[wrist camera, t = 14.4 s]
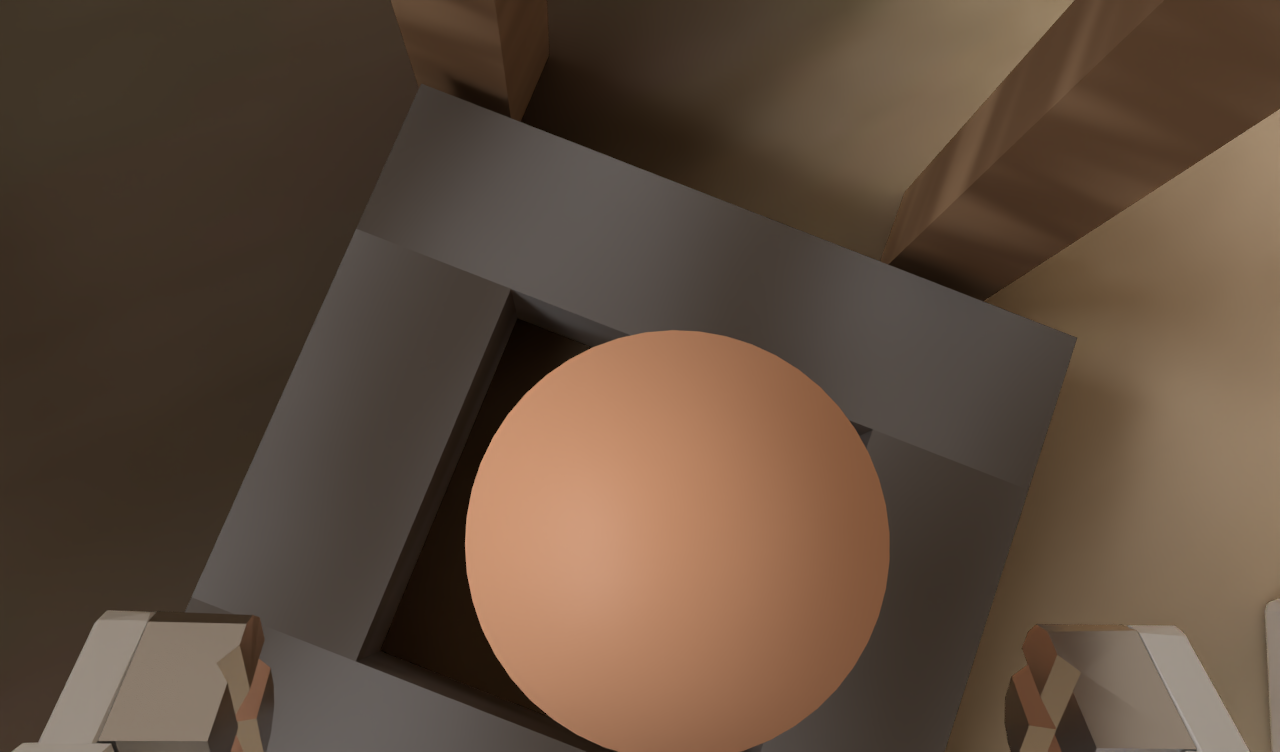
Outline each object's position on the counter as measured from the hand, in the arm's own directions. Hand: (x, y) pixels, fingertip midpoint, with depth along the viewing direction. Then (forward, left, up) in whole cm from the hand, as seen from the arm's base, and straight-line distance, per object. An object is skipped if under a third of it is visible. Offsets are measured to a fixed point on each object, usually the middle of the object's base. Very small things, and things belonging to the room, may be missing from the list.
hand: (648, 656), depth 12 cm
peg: (0, +1, -10) cm, 10 cm away
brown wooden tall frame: (-1, +3, -10) cm, 11 cm away
